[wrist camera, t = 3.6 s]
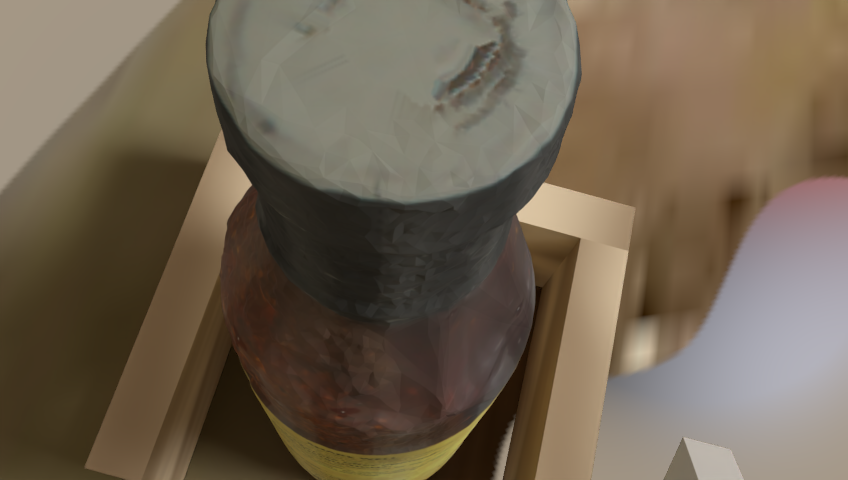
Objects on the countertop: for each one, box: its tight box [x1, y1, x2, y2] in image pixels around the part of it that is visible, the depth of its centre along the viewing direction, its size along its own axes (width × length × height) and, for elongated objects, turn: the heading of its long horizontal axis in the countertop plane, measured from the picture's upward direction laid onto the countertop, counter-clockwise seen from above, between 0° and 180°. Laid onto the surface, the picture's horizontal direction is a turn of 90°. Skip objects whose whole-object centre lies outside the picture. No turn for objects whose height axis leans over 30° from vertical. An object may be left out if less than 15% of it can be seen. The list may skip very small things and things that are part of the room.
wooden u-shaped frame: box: [84, 129, 635, 480], centre depth 24 cm, size 13×12×5 cm
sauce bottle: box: [206, 0, 582, 480], centre depth 17 cm, size 7×6×20 cm
